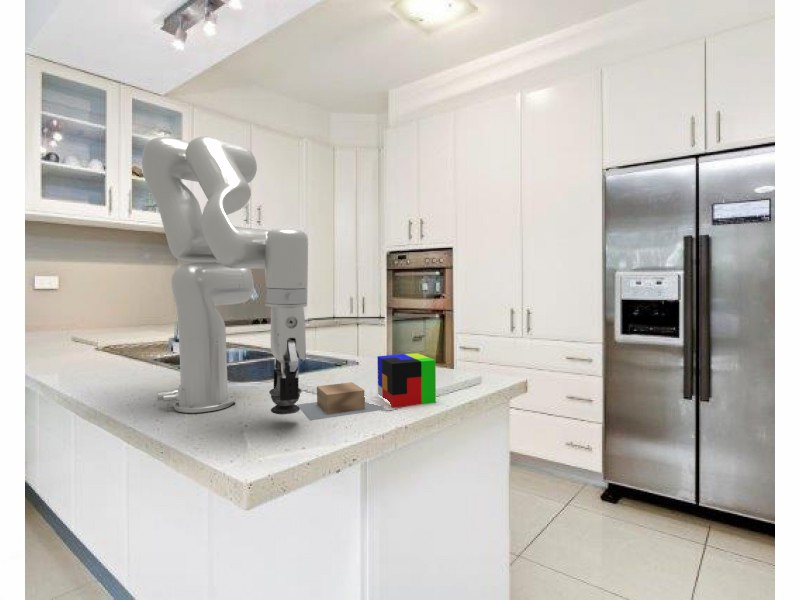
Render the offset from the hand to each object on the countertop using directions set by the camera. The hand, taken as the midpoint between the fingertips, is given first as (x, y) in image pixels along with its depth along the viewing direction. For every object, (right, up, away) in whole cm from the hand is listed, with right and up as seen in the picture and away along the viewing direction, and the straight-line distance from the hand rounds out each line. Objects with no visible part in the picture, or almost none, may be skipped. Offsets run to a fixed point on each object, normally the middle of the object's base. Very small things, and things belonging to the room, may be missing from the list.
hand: (285, 393), depth 84 cm
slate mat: (+9, -6, +12) cm, 16 cm away
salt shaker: (0, -3, 0) cm, 3 cm away
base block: (+9, -5, +12) cm, 16 cm away
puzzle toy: (+23, -6, +17) cm, 29 cm away
